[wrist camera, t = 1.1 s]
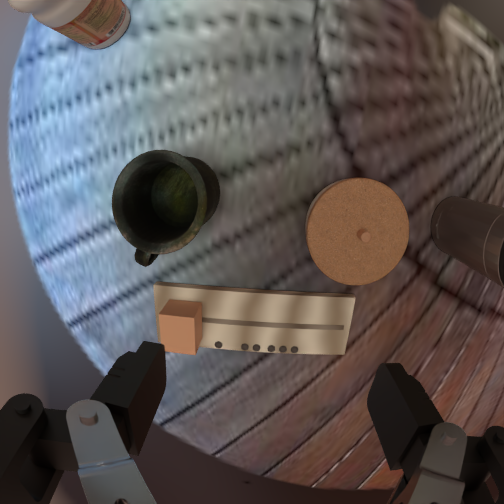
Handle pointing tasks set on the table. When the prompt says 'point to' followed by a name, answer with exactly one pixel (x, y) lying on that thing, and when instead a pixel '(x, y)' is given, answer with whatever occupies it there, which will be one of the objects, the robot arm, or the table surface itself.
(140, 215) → the mug
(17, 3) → the fruit juice
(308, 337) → the count board
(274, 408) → the table surface
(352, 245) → the lidded bowl
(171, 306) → the slider
